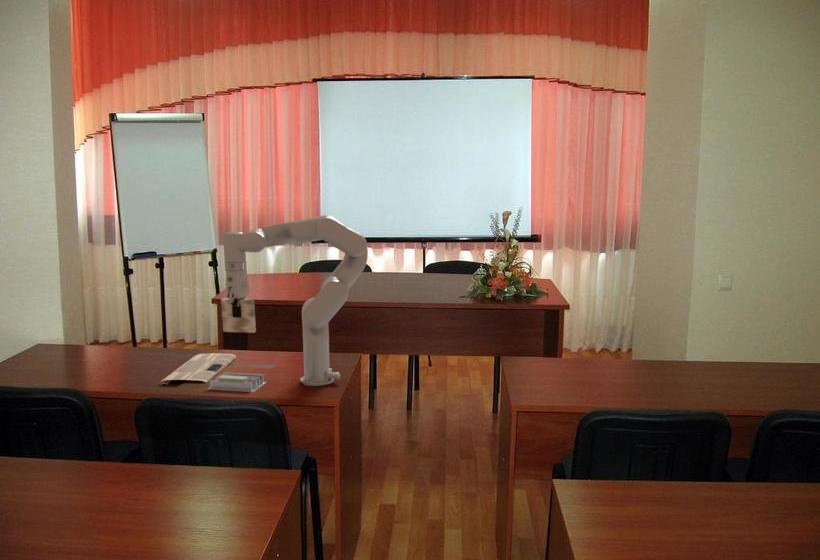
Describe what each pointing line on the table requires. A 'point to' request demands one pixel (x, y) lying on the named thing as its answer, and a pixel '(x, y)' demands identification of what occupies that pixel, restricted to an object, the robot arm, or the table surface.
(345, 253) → the robot arm
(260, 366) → the play button award
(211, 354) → the newspaper
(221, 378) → the offcut block
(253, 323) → the birch sheet
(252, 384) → the slot rack
